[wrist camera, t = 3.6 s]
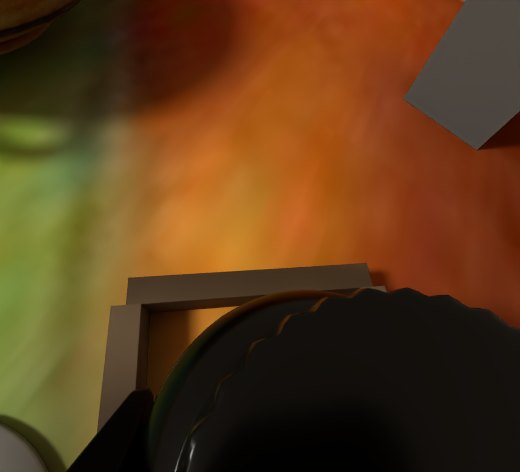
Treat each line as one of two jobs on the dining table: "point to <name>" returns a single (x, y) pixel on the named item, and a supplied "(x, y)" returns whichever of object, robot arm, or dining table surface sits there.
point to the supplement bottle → (342, 389)
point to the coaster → (18, 453)
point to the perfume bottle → (473, 72)
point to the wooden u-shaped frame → (199, 297)
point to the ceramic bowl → (28, 20)
